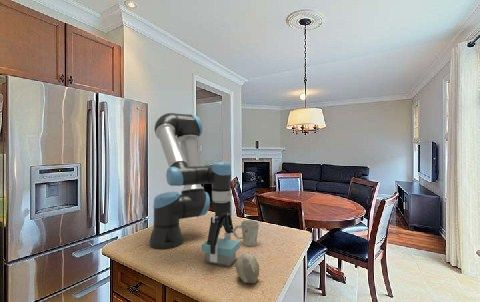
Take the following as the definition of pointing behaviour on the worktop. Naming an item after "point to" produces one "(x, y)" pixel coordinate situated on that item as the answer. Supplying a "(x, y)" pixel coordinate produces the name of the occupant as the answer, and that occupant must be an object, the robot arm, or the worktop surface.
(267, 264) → the worktop surface
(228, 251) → the lid
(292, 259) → the worktop surface
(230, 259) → the box
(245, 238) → the mug
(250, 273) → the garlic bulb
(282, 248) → the worktop surface
